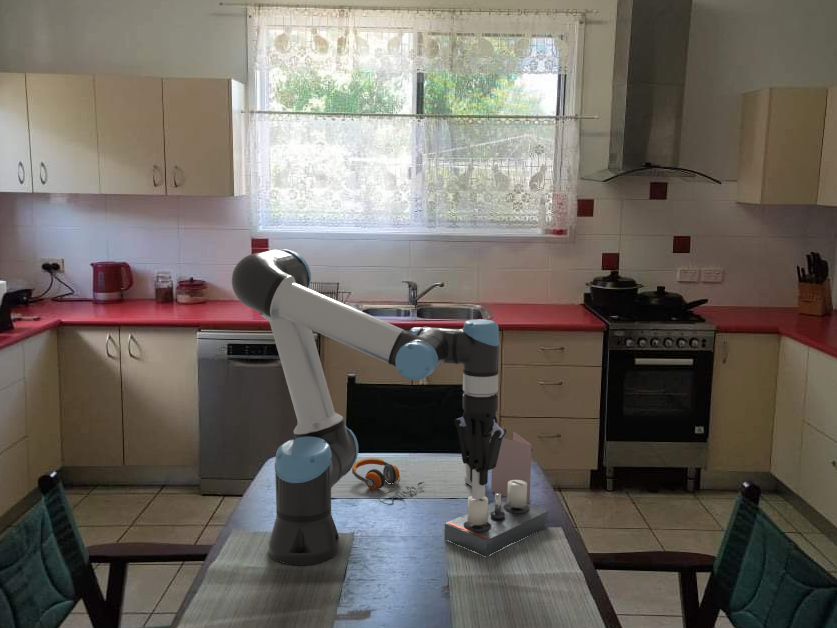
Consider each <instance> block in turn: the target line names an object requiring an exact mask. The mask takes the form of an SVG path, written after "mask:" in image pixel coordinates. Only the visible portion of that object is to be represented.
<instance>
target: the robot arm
mask: <svg viewBox="0 0 837 628" xmlns="http://www.w3.org/2000/svg"><path fill="white" fill-rule="evenodd" d="M231 274H232V275H231V286H232V289H233V293H234V295H235V296H236V298H237V299H238V301H240V302H241V303H242V304H243V305H245V306H246V307H247V308H250V309H252V310H253V311H255V312H258V313H259V315H260V317H262V318H264V319H265V320H267V321H268V322H269V325H270V329H271V331H272V335H273V338H274V342H275V345H276V350H277V352H278V356H279V360H280V363H281V366H282V370H283V374H284V377H285V382H286V386H287V387H288V392H289V395H290V399H291V402H292V405H293V409H294V412H295V417H296V420H297V423H296V424H297V425H296V426H295V428H294V429H293V435H294V439H290V440H288V441H285V442H284V443H282V444H281V445H280V446H278V448H277V450H276V454H275V459H274V460H275V462H274V471H275V503H276V504H275V505H276V508H275V509H276V512H275V513H276V516H275V517H276V518H275V520H274V524H273V527H272V531H271V535H270V537H269V539H268V554H269V553H270V554H269V556H270V555H271V556H272V557H273V558H275V559H276V560H275V559H274V560H275V561H277V560H278V561H277V562H279V561H281V562H284V563H283V564H285V563H288V564H287V565H291V564H295V565H294V566H308V565H309V564H310V565H315V563H316V564H321V563H323V562H326V561H329V560H331V559H333V558H334V557H335V556H336V555H337V554H338V553H339V552H338V551H340V549H339V548H341V547H340V546H341V545H340V541H341V540H340V539H341V538H340V536H339V533H338V529H337V526H336V524H335V521H334V518H333V515H332V488H333V487H334V486H335V485H336V484H337V483H338V482H339V481H340V480H341V479H342V478H343V477H344V476H346V475H347V474H348V473H349V472H350V471H352V468H353V465H354V464H355V463H356V462H357V459H358V455H359V443H358V440H357V437H356V435H355V434H354V432H353V431H352V429H349V428H348V427H347V425H346V424H345V420H344V417H343V416H342V415H341V414H339V413H337V412H336V411H335V408H334V405H333V402H332V397H331V394H330V390H329V388H328V383H327V380H326V376H325V373H324V370H323V366H322V362H321V359H320V354H319V352H318V351H319V350H318V347H317V344H316V340H315V337H314V334H313V333H314V332H315V333H318V334H320V335H322V336H324V337H327V338H329V339H332V340H334V341H336V342H338V343H340V344H343V345H345V346H347V347H349V348H352V349H354V350H356V351H359V352H361V353H363V354H366V355H368V356H370V357H372V358H375V359H377V360H379V361H381V362H384V363H386V364H388V365H391V366H392V367H395V368H396V370H397V371H398V373H399V374H400V375H401V376H402V377H403V378H405V379H407V380H410V381H420V380H423V379H425V378H427V377H429V376H431V375H432V374H433V373H434V371H436V369H437V368H439V366H441V364H446V365H447V364H449V365H450V364H451V365H462V369H463V370H462V371H463V372H462V391H463V393H462V410H463V414H462V416H461V417H459V418H455V419H454V420H453V421H454V425H455V427H456V430H457V434H458V440H459V446H460V452H461V453H460V454H461V458H462V462H463V464H465V465H466V464H468V465H469V467H470V481H471V482H472V486H471V496H472V498H473V499H475V500H478V499H481V498H483V497H486V485H488V482H489V481H488V480H489V476H488V475H489V471H492V469H493V468H495V467H496V464H497V460H498V455H499V451H500V447H501V443H502V438H504V437H505V435H506V434H507V429H506V428H505V427H504V428H502V427H500V425H499V424H498V418H497V411H498V409H499V408H498V407H499V394H498V393H497V392H498V391H499V367H500V366H499V365H500V364H499V361H500V344H501V343H500V332H499V331H500V329H499V324H498V323H497V322H496V321H495V320H491V319H481V318H480V319H468V320H466V321H464V323H463V327H462V328H460V329H459V328H445V327H430V326H423V327H418V326H416V327H412V328H410V329H409V331H407V330H405V329H403V328H401V327H398V326H396V325H394V324H392V323H389V322H387V321H385V320H382V319H380V318H378V317H376V316H373V315H371V314H369V313H366V312H363V311H361V310H359V309H357V308H354V307H353V306H349V305H347V304H346V303H342V302H341V301H339V300H336V299H335V298H331V297H330V296H326V295H324V294H322V293H319V292H318V291H315V290H313V289H311V288H309V287H310V284H311V279H312V274H311V269H310V266H309V264H308V263H307V261H306V260H305V259H304V257H303V256H302V255H300V254H299V253H298V252H296V251H293V250H290V249H283V248H277V249H276V248H275V249H271V250H267V251H262V252H256V253H252V254H249V255H247V256H244V257H243V258H242V259H241V260H239V262H238V263H236V265H235V267H234V268H233V271H232V273H231ZM467 456H468V457H467ZM271 556H270V557H271ZM272 557H271V558H272ZM273 558H272V559H273ZM325 560H326V561H325ZM281 562H280V563H281ZM310 565H309V566H310Z"/></svg>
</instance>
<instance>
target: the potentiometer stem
mask: <svg viewBox="0 0 837 628" xmlns="http://www.w3.org/2000/svg"><path fill="white" fill-rule="evenodd" d="M501 499H502V495H501V494H500V493H494V502H495V511H493V512H491V513H490V517H491V518H492V519H494V520H502V519H504V518H505V513H504V512H501Z"/></svg>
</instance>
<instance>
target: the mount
mask: <svg viewBox="0 0 837 628" xmlns="http://www.w3.org/2000/svg"><path fill="white" fill-rule="evenodd" d="M493 511H495V501H494V502H491V503H488V521H487V523H485V524H482V525H475V524H471V523H469V522H468V521H467V516H468V513H465V514H463V515H460V516H459V517H458V516H457V517H456V518H454V519H452V520H449V521H447V522H445V523H444V541H445V540H449V541H451V542H453V543H455V544H457V545H460V546H462V547H465V548H467V549H469V550H472V551H475V552H477V553H479V554H481V555H483V556H486V557H487V556H489V555H490V554H492V553H494V552H496V551H498V550H500V549H502V548H503V547H505V546H507V545H509V544H511V543H514V542H517V541H519V540H521V539H523V538H525V537H527V536H529V537H531V536H533V535H535V534H537V533H539V532H541V531H544V530H545V529H548V525H549V524H548V521H549V520H548V519H549V510H546V509H544V508H540V507H538V506H534V505H531V504H530V503H528V502H526V506H525V507H521V508H515V507H511V506H509V505H508V504H507V496H504V497H503V498H501V512H504V513H505V518H504V519H502V520H494V519H492V518H491V517H490V513H491V512H493ZM536 532H537V533H536ZM534 533H535V534H534ZM532 534H533V535H532ZM530 535H531V536H530ZM527 538H528V537H527ZM525 539H526V538H525ZM523 540H524V539H523ZM521 541H522V540H521ZM519 542H520V541H519ZM517 543H518V542H517ZM457 545H456V546H457ZM489 557H490V556H489ZM487 558H488V557H487Z"/></svg>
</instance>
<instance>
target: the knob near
mask: <svg viewBox="0 0 837 628" xmlns="http://www.w3.org/2000/svg"><path fill="white" fill-rule="evenodd" d="M488 505H489V498H488V497H487V496H485V497H483V498H481V499H478V500H475V499H473V498H472V495H470V496H468V497H467V514H468V516H467V521H468V522H469V523H471V524H475V525H482V524H485V523H487V521H488Z"/></svg>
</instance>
